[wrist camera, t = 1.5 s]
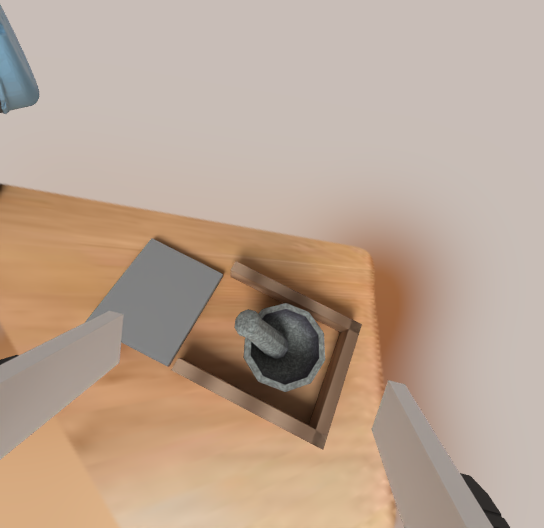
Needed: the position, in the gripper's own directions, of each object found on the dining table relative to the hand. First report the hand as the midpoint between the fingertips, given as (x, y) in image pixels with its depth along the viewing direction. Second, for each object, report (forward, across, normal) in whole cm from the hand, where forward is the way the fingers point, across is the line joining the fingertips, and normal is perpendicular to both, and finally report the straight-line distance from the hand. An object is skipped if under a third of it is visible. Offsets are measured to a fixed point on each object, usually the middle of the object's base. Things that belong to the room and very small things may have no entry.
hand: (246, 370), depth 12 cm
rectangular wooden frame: (+22, +1, -11) cm, 24 cm away
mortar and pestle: (+22, +1, -11) cm, 25 cm away
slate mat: (+22, -16, -8) cm, 28 cm away
